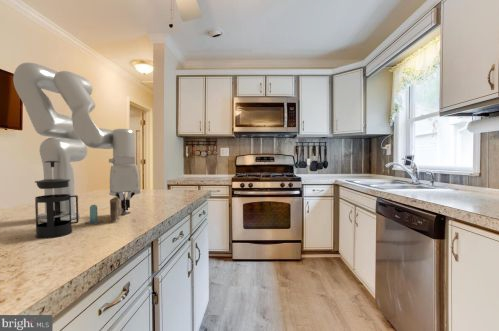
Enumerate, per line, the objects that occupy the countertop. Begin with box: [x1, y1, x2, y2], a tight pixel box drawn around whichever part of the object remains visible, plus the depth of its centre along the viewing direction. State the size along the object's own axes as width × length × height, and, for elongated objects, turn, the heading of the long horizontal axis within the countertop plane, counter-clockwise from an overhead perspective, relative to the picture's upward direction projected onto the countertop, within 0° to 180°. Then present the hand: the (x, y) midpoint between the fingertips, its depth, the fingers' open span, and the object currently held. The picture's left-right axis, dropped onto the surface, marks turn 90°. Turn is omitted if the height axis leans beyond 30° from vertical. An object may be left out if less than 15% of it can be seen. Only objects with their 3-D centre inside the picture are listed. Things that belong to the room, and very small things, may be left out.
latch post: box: [84, 204, 103, 225], centre depth 98 cm, size 4×4×7 cm
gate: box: [109, 196, 123, 222], centre depth 105 cm, size 14×2×8 cm, turn 15°
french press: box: [34, 161, 80, 240], centre depth 84 cm, size 12×9×23 cm
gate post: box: [118, 192, 131, 216], centre depth 113 cm, size 5×5×13 cm
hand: (125, 209), depth 103 cm, fingers closed
